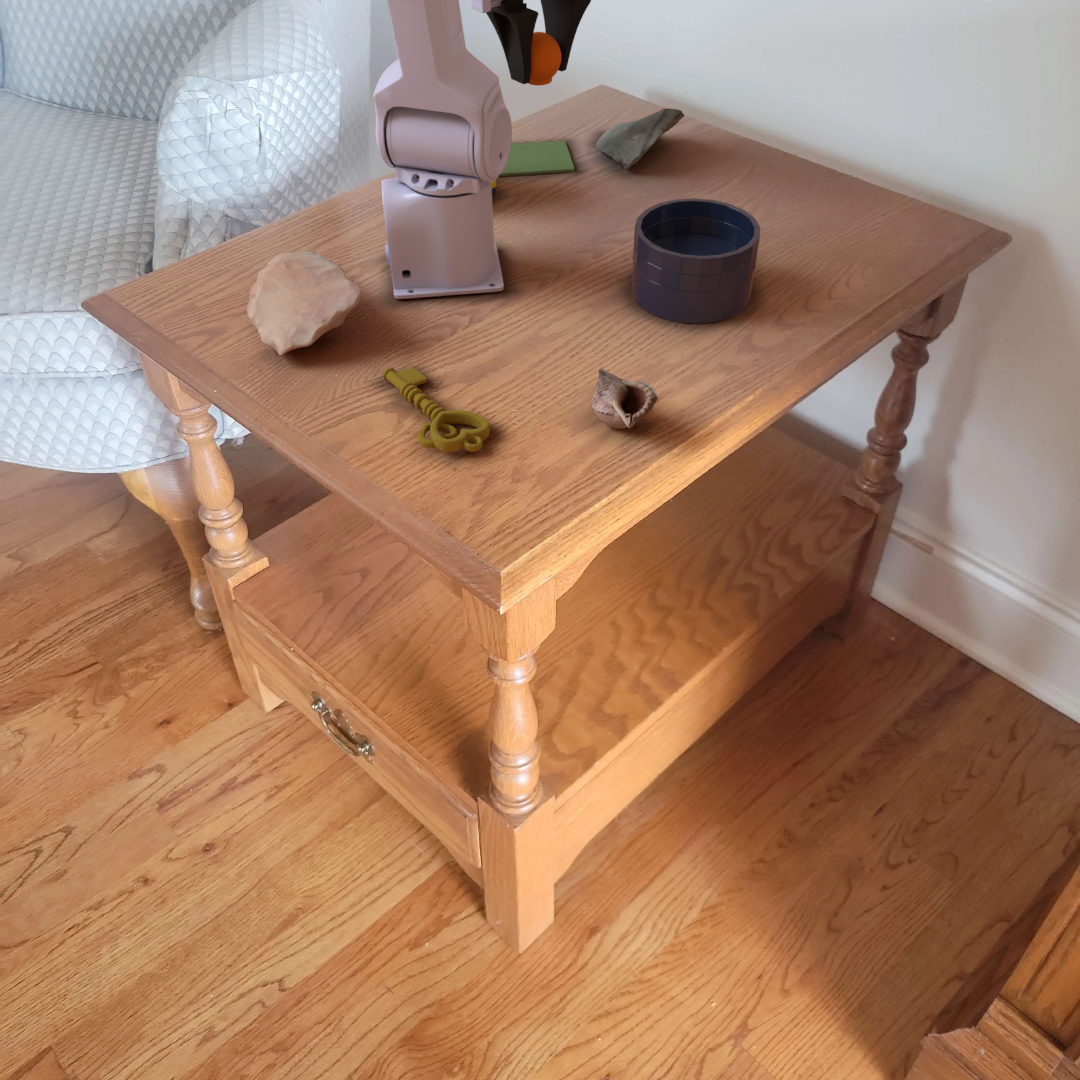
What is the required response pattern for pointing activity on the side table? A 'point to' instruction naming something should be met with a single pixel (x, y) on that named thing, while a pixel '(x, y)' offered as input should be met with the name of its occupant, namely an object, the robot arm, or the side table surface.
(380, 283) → the side table surface
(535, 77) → the orange
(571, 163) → the green flat plate
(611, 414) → the seashell
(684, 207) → the pot
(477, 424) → the key
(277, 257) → the stone tool
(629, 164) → the stone
